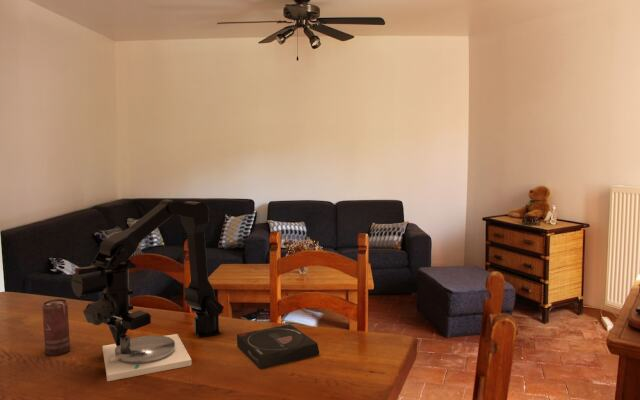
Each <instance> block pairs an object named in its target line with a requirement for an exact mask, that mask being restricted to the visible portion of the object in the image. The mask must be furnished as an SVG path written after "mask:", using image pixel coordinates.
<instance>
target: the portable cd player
mask: <svg viewBox="0 0 640 400" xmlns="http://www.w3.org/2000/svg"><path fill="white" fill-rule="evenodd" d="M236 345H237V346H236V348H238V349H239V350H240V351H241V352H242V353H243V354H244V355H245V356H246V357H247V358H248V359H249V361H251V362H252V363H253V364H254V365H255V366H256V368H258V369H259V370H263V369H267V368H271V367H276V366H280V365H284V364H288V363H291V362H297V361H301V360H306V359H309V358H313V357H318V356H319V354H320V349H319V345H318V342H316V341H315V340H313V338H310V337H309V336H308V335H306V334H305V333H303V332H302V331H301V330H299V329H298V328H297V327H295V326H293V325H292V324H283V325H279V326H278V325H277V326H274V327H268V328H263V329H257V330H253V331H249V332H242V333H238V334H236ZM275 365H276V366H275Z"/></svg>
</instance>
